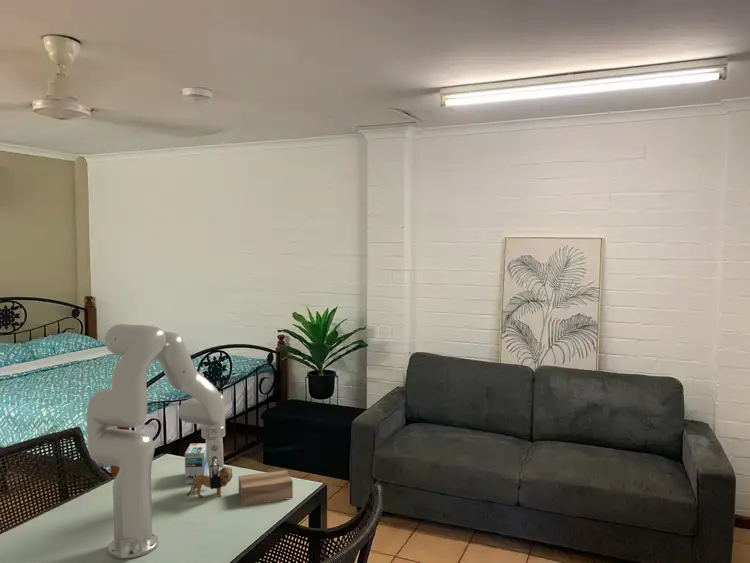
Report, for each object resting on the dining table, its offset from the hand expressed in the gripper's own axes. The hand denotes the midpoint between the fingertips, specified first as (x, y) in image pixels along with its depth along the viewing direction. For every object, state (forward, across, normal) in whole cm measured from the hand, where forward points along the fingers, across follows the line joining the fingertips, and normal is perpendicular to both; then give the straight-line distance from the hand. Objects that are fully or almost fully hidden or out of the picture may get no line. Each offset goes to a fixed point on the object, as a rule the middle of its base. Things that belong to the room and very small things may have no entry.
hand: (214, 482), depth 193 cm
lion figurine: (+4, 0, +1) cm, 4 cm away
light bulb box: (+4, +16, +5) cm, 17 cm away
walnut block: (+4, -6, -16) cm, 17 cm away
